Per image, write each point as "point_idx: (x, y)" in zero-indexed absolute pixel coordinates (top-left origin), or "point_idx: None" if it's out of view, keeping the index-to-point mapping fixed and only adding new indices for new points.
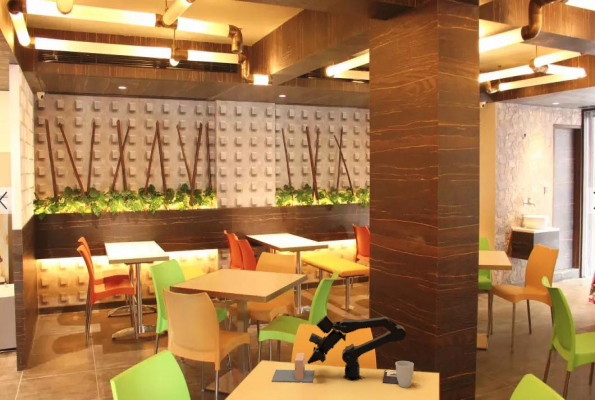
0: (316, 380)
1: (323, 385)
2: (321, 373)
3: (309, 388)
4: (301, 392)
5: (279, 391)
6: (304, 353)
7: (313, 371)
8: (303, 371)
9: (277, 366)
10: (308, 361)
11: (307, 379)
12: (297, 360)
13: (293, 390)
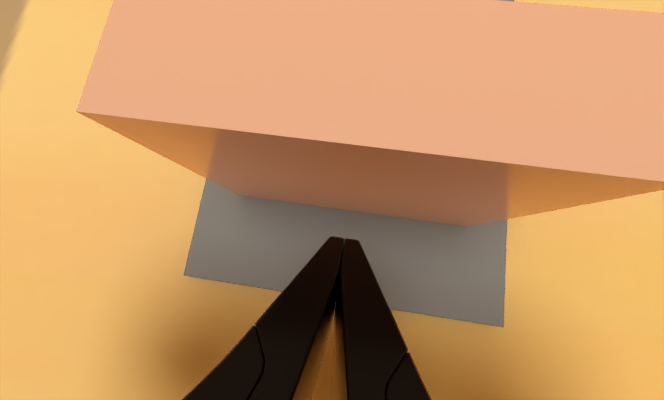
0: (243, 317)
1: (108, 368)
2: (438, 393)
3: (70, 237)
4: (7, 172)
5: (68, 32)
6: (640, 177)
7: (464, 314)
8: (297, 194)
9: (627, 9)
10: (316, 255)
11: (241, 235)
12: (112, 13)
13: (61, 119)
